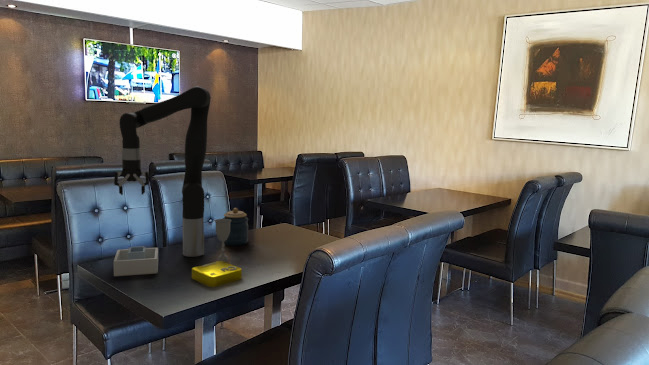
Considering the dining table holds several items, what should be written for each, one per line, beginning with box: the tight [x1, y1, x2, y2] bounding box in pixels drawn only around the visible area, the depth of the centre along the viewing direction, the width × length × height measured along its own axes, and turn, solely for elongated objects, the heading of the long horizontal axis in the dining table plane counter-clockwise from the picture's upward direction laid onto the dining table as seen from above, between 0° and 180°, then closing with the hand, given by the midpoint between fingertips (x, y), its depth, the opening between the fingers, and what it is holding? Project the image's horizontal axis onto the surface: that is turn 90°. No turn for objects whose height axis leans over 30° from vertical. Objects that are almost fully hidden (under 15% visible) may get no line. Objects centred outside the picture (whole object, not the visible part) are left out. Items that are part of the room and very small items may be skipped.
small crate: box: [128, 246, 146, 260], centre depth 192 cm, size 6×8×7 cm
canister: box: [222, 207, 249, 246], centre depth 234 cm, size 13×13×18 cm
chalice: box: [214, 218, 231, 263], centre depth 205 cm, size 7×7×18 cm
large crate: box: [112, 247, 159, 277], centre depth 192 cm, size 16×16×6 cm
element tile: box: [191, 260, 243, 288], centre depth 184 cm, size 15×15×5 cm
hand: (132, 194), depth 209 cm, fingers open, 8 cm apart
